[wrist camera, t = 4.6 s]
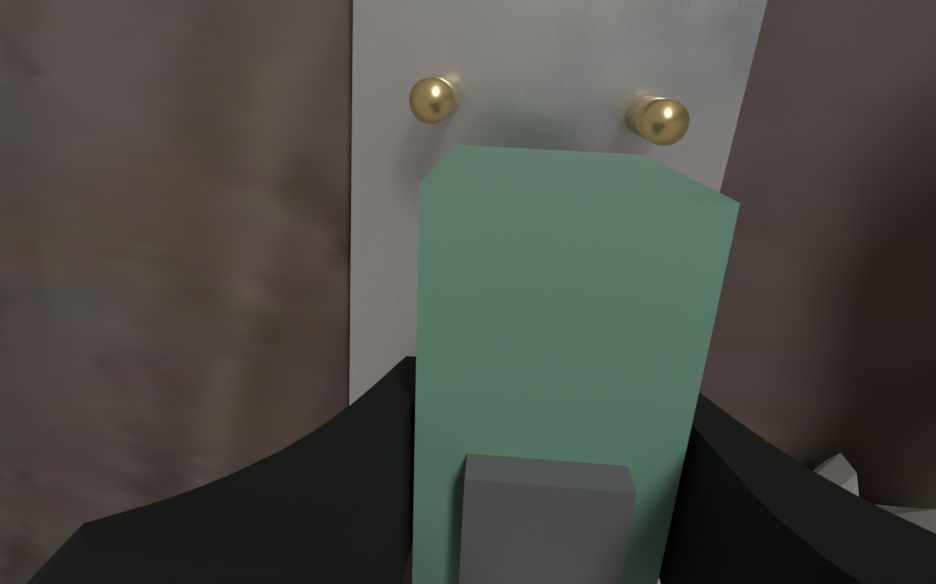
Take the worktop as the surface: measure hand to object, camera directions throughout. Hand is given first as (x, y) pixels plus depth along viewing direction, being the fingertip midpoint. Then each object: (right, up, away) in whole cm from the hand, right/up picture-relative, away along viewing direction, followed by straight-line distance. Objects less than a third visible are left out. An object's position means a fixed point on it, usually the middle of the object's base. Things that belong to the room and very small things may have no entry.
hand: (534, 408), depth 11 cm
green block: (0, +2, +2) cm, 2 cm away
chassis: (+1, +4, +9) cm, 10 cm away
